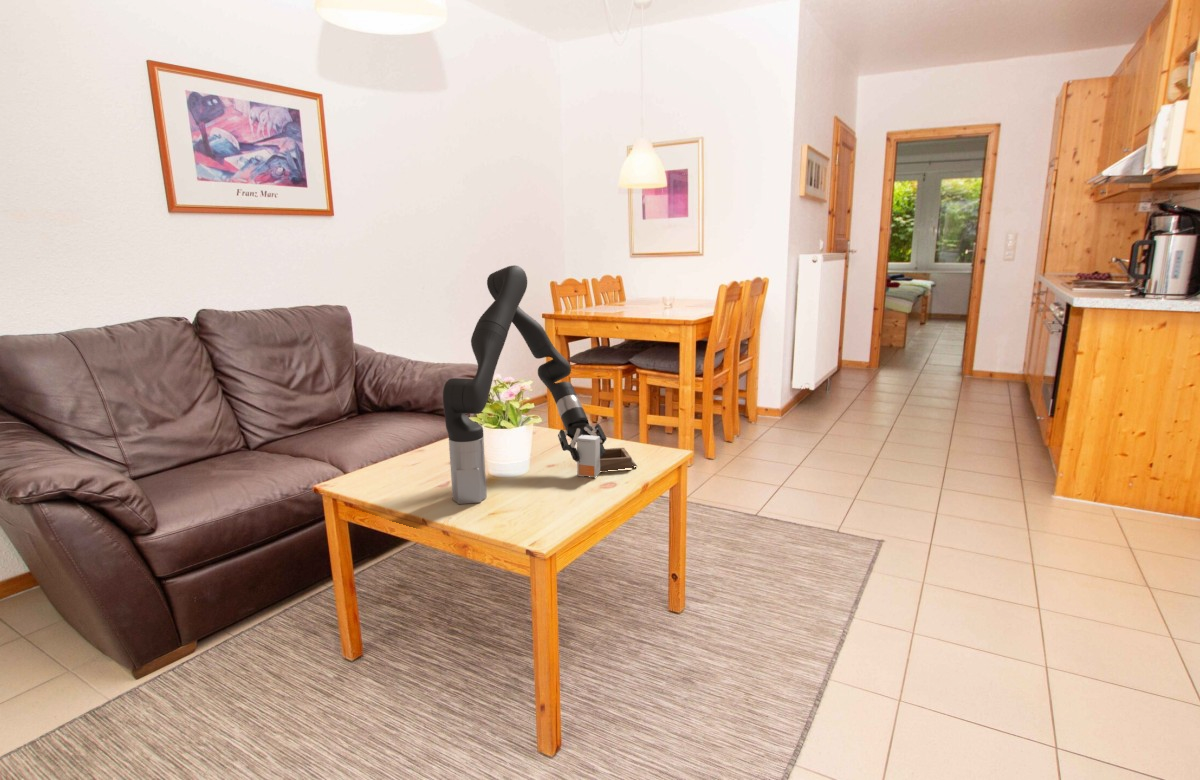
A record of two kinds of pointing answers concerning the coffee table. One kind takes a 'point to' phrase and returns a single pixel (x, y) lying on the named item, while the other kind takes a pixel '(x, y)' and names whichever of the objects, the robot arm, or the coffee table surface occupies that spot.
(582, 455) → the skincare box
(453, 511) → the coffee table surface
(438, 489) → the coffee table surface
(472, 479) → the robot arm
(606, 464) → the box
